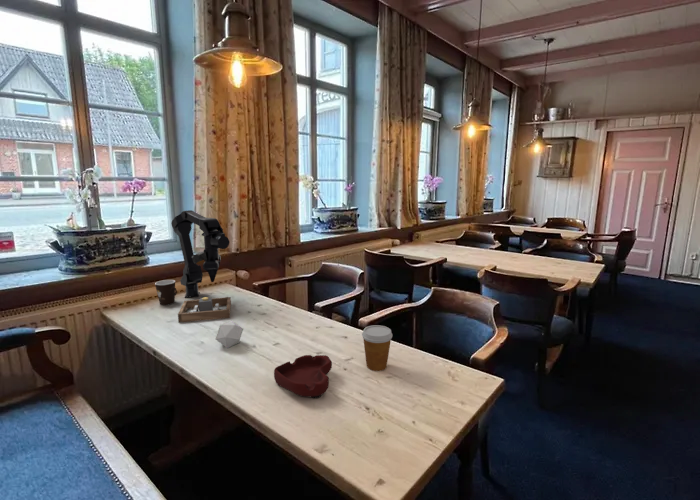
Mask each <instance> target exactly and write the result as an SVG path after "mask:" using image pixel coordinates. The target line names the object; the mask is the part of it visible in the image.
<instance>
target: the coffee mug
mask: <svg viewBox="0 0 700 500" xmlns="http://www.w3.org/2000/svg"><path fill="white" fill-rule="evenodd" d="M154 287H155V290H156V294H157V298H158V301H159V302H158V303H159V305H160V306H161V305H162V306H166V305H167V306H168V304H169V305H172V304H174V303H175V301H176V300H175V299H176V295H177V294H178V291H177V288H176V280H174V279H163V280H159V281H156V282H155V283H154Z"/></svg>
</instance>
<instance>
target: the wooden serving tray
mask: <svg viewBox="0 0 700 500" xmlns="http://www.w3.org/2000/svg"><path fill="white" fill-rule="evenodd" d="M199 300H200V299H190V300H184V301H183V303H182V305H181V307H180V309H179V311H178V313H177V320H178V323H187V322H198V321H199V322H200V321H209V320H220V319H221V320H222V319H230V317H231V306H232V299H231V297H230V296H228V297H217V298H215V297H214V298H212V305H213V307H214V309H213V310H212V311H201V312H199ZM224 306H226V308H224V309H220V307H224ZM188 309H193V310H192V312H191V311H190V312H187V310H188Z"/></svg>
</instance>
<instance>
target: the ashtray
mask: <svg viewBox="0 0 700 500" xmlns="http://www.w3.org/2000/svg"><path fill="white" fill-rule="evenodd" d="M332 368H333V363H332V360H331V358H330V357H329V356H328V355H324V354H323V355H319V354H317V355H314V356H313V355H311V354H305V355H302V356H299V357H296V358H295V360H294V361H292V362H291V361H287V362H284V363H283V364H280V365H278V366H276V367H274V369H273V377H274V381H275V383H276V385H278V386H279V387H281V388H284V389H286V390H288V391H289V392H292V393H293V394H295V395H297V396H300V397H308V398H311V399H319V398H321V396H322V395H324V394H325V393H326V392H327V391H328V389H329V387H330V379H329V376H328V374H329V373H330V372H331V370H332Z"/></svg>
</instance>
